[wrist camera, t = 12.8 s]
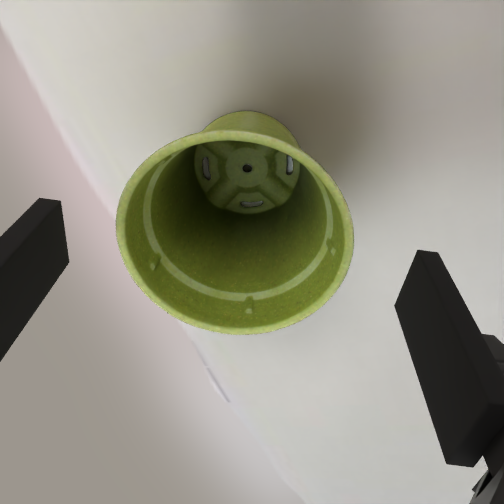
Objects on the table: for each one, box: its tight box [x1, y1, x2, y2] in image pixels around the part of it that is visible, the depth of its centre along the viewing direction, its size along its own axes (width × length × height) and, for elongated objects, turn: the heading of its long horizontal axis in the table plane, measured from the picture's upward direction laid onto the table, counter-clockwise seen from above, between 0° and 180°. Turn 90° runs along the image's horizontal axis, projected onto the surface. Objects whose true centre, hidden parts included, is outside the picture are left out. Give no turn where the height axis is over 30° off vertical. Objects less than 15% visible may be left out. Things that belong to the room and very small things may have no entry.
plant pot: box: [116, 111, 354, 335], centre depth 21 cm, size 9×9×9 cm
